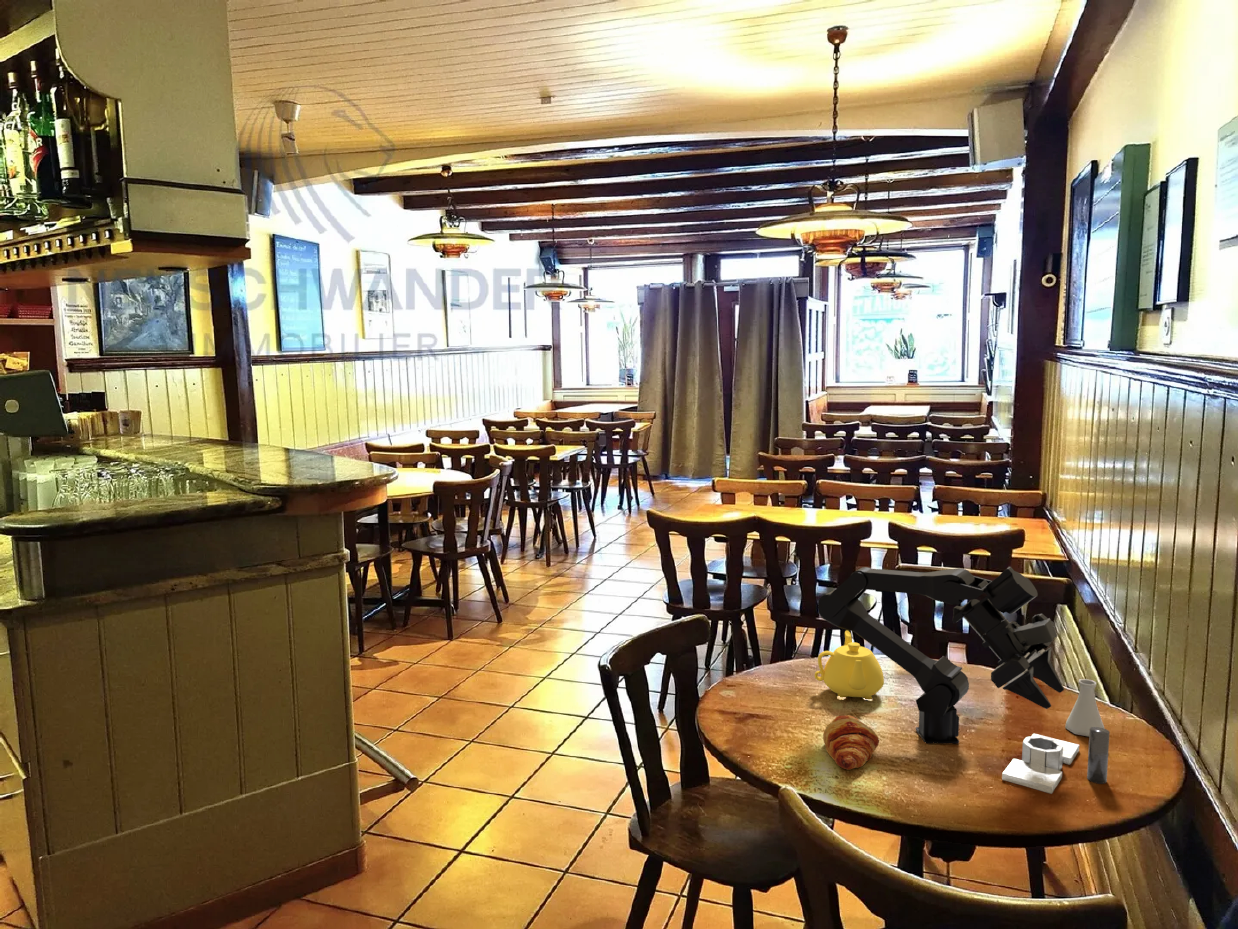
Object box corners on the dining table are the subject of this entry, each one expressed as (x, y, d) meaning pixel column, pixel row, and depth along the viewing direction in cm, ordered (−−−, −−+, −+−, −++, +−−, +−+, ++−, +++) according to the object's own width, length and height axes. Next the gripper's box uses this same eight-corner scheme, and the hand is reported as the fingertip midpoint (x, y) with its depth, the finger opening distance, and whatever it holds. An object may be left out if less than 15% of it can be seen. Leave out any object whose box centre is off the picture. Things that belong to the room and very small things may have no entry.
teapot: (810, 675, 201) (811, 628, 199) (875, 678, 199) (877, 630, 197) (818, 710, 181) (819, 658, 180) (891, 713, 179) (892, 660, 178)
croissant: (835, 743, 174) (816, 708, 174) (881, 725, 171) (862, 689, 171) (833, 792, 153) (812, 752, 154) (885, 773, 151) (864, 732, 151)
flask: (1111, 739, 166) (1114, 690, 164) (1070, 737, 167) (1073, 687, 166) (1098, 724, 173) (1101, 676, 171) (1059, 721, 174) (1062, 674, 173)
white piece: (1002, 779, 151) (1002, 758, 150) (1033, 739, 166) (1034, 719, 166) (1051, 793, 146) (1052, 771, 145) (1079, 750, 161) (1080, 730, 161)
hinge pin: (1092, 784, 149) (1095, 734, 148) (1083, 775, 152) (1086, 727, 151) (1110, 783, 149) (1113, 734, 148) (1101, 775, 152) (1103, 727, 151)
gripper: (1012, 615, 147) (1080, 692, 142) (1041, 591, 162) (1104, 660, 156) (964, 650, 153) (1027, 725, 148) (995, 624, 168) (1055, 692, 162)
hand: (1055, 699), depth 153 cm, fingers open, 9 cm apart
